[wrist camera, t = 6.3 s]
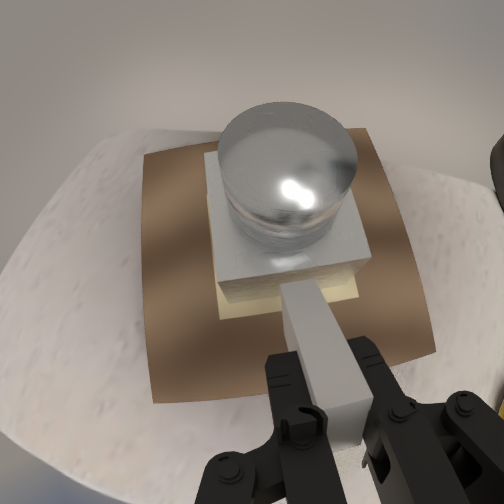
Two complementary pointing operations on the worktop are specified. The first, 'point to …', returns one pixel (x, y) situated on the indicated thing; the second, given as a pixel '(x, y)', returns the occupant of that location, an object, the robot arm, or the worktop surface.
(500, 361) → the worktop surface
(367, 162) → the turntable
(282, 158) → the metal block with knob
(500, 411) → the bread roll
